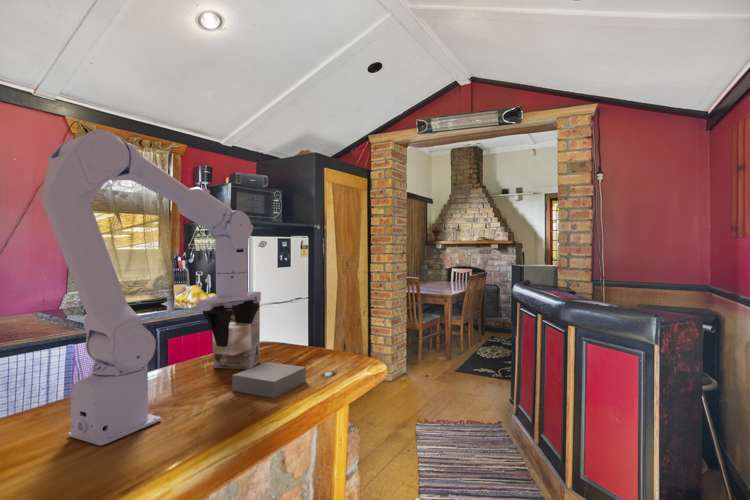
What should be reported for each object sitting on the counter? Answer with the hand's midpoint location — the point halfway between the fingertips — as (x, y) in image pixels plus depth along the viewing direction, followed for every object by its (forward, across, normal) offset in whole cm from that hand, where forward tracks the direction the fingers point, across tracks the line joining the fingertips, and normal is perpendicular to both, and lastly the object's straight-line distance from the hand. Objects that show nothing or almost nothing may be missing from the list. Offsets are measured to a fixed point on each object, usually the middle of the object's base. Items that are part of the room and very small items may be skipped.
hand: (232, 342), depth 79 cm
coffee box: (+9, -13, -11) cm, 20 cm away
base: (+9, -4, +6) cm, 11 cm away
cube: (+2, 0, 0) cm, 2 cm away
